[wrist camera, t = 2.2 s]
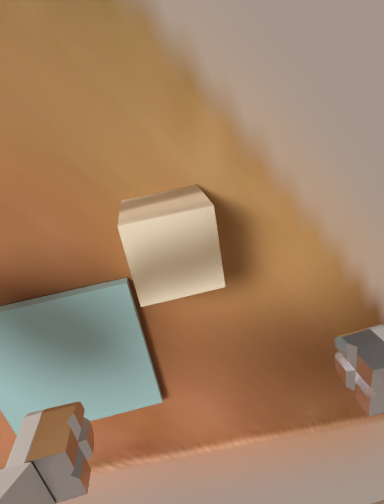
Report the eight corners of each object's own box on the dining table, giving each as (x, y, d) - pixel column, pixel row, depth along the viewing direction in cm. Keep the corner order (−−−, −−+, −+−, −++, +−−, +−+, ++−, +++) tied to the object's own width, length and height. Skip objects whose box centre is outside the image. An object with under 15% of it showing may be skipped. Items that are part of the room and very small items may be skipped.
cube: (121, 200, 20) (117, 226, 16) (196, 184, 21) (213, 205, 16) (139, 267, 23) (140, 306, 18) (207, 252, 23) (225, 287, 18)
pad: (-48, 316, 22) (-54, 324, 21) (127, 277, 23) (127, 283, 22) (22, 430, 27) (19, 439, 26) (161, 394, 28) (162, 402, 27)
